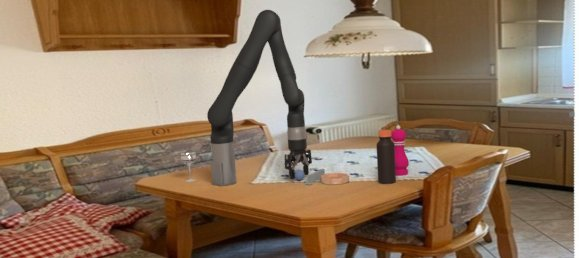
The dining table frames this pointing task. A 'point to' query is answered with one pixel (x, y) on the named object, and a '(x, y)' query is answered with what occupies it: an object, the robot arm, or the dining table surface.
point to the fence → (314, 177)
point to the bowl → (334, 178)
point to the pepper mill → (400, 151)
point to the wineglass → (188, 161)
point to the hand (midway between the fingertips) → (299, 176)
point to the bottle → (386, 158)
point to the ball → (299, 174)
